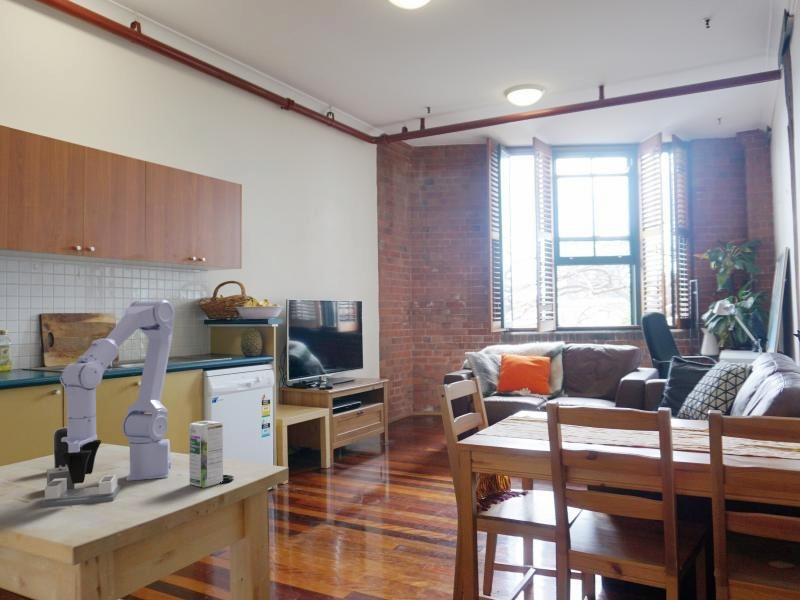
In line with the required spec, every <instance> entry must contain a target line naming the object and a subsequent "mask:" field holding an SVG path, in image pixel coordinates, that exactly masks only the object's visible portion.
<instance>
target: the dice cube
mask: <svg viewBox="0 0 800 600" xmlns="http://www.w3.org/2000/svg"><path fill="white" fill-rule="evenodd" d="M59 478H67V489H76V487H75V484H73V483H72V481H71V477H70V473H69V469H68V466H66V467H59V468H54V467H53V468H47V469H46V486H47V485H48V484H49V483H50V482H51V481H52V480H54V479H59ZM67 489H66V490H67Z"/></svg>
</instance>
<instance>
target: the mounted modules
mask: <svg viewBox="0 0 800 600" xmlns="http://www.w3.org/2000/svg"><path fill="white" fill-rule="evenodd" d="M118 483H119V482H118V473H107V474H105V475H104V476H103V477H102V478H101V479H100V481H99V482H98V487H99V494H108V493H112V492H113V490H114V489H115V487H116V486H117V485H119V484H118ZM66 489H67V478H59V479H54V480H52V481H51V482H50V483H49V484H48V485H47V484H46V486H45V487H44V498H45V499H54V498H59V497H60V495H61V494H62V493H63V492H64V491H65V490H66Z"/></svg>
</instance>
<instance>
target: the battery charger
mask: <svg viewBox="0 0 800 600" xmlns="http://www.w3.org/2000/svg"><path fill="white" fill-rule="evenodd" d="M63 437H67V426H65V427H60V428H57V429H56V430H55V431H54V433H53V438H52V439H53V440H52V441H53V443H52V444H53V445H52V446H53V447H52V449H53V450H52V451H53V465H54V466H53V468H59V467H66V466H67V464H66V462H65V460H64V459H63V458H62V455H61V453H62V452H63V451H68V443H67V442H61V439H62V438H63Z"/></svg>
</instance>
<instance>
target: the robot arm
mask: <svg viewBox="0 0 800 600" xmlns="http://www.w3.org/2000/svg"><path fill="white" fill-rule="evenodd" d="M124 314H125V315H124V316H123V317H122V318H121V319H120V321H118V323H117V324H116V325H115V327H114V328H113V329H112V330H111V331H110V333H108V335H107V336H106V337H105V338H99V339H94V340H93V341H92V342H91V346H90V347H89V348H88V349H87V350H86V351H85V352H84V353H83V354H82V355H79V357H78V358H77V361H76V362H71V363H69V364H67V365H66V367H64V369H63V370H62V372H61V375H60V376H59V382H60V383H61V385H62V386H63V388H64V395H65V396H66V427H67V437H63V438H62V439H61V442H67V443H68V451H63V452H62V453H61V455H62V458H63V459H64V460H65V462H66V464H67V466H68V469H69V473H70V477H71V481H72V483H73V484H74V485H76V484H83V483H84V482H85V478H86V475H92V474H93V470H94V466H95V465H94V464H95V459H96V456H97V452H98V450H99V448H100V445H101V444H102V440H101V439H98V434H97V387H98V386H99V385H101V383H102V380H103V374H104V373H105V370H106V369H107V368H108V367H109V366H110V364H111V363H112V362H113V361H114V360H115V359H116V358H117V357H118V356H119V355H120V354H119V352H120V351H119V350H120V349H119V347H120V346H121V345H122V344H124V342H126V341H127V340H128V339H129V338H130V337H131V336H132V335H133V334H134V333H135V332H136V331H137V330H139V331H140V332H142V333H143V334H144V335H145V336H146V337H147V338H148V343H147V348H146V349H147V350H146V354H145V358H144V359H145V360H144V364H143V368H142V374H141V379H140V384H139V390H138V395H137V400H135V402H133V403H132V404H131V405H129V407H128V408H127V413H126V415H125V417H124V418H123V420H122V424H121V431H122V435H124V437H126V439H127V440H126V441H127V442H129V473H128V476H126V478H125V481H127V482H130V481H141V480H151V479H163V478H168V477H169V474H170V472H171V470H172V469H171V468H172V462H171V443H170V439H168V438H165V439H164V436H165V435H166V434H167V432H168V429H169V423H168V422H169V421H168V412H169V410H168V409H167V408H166V407H165V406H164V405H163V404H162V402H161V400H162V394H163V390H164V384H165V378H166V374H167V367H168V362H169V358H170V357H169V356H170V351H171V347H172V341H173V329H174V322H175V318H176V310H175V308H174V307H173V305H172V304H171V303H170V301H169V300H166V299H160V300H135V301H132V302H131V303H130V305H129V306H127V308H125V312H124Z"/></svg>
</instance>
